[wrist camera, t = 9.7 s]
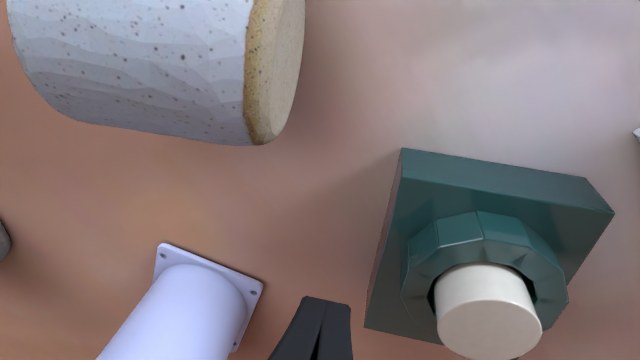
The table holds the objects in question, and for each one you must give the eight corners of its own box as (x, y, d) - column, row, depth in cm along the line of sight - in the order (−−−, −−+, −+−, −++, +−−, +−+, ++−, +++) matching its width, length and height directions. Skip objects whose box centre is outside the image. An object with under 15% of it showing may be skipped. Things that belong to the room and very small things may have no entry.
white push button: (507, 328, 17) (519, 370, 16) (424, 311, 18) (426, 350, 16) (541, 270, 15) (560, 312, 14) (446, 252, 16) (452, 289, 14)
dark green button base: (503, 319, 23) (526, 397, 19) (367, 290, 24) (360, 358, 20) (585, 177, 18) (643, 245, 13) (401, 146, 19) (401, 201, 14)
